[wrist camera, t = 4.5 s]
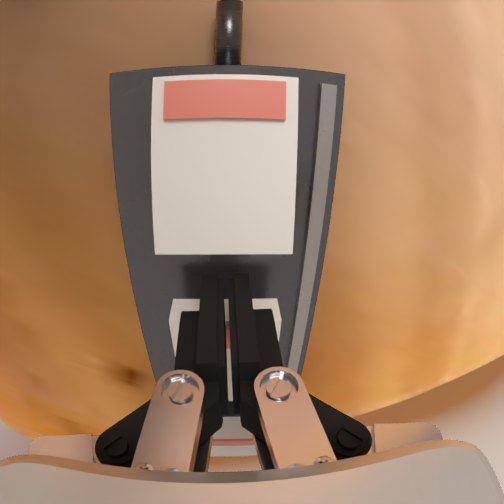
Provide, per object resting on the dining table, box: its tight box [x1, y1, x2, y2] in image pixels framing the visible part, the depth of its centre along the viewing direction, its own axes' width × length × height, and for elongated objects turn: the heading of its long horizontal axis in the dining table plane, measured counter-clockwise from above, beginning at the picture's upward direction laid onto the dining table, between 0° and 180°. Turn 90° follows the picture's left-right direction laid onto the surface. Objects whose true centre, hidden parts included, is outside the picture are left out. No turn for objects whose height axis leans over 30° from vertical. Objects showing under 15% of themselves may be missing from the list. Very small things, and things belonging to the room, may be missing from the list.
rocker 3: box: [210, 417, 258, 456], centre depth 18 cm, size 6×4×2 cm
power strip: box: [110, 0, 345, 417], centre depth 17 cm, size 28×9×4 cm, turn 178°
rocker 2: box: [169, 298, 282, 401], centre depth 14 cm, size 6×4×2 cm
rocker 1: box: [151, 74, 299, 255], centre depth 10 cm, size 6×4×2 cm
